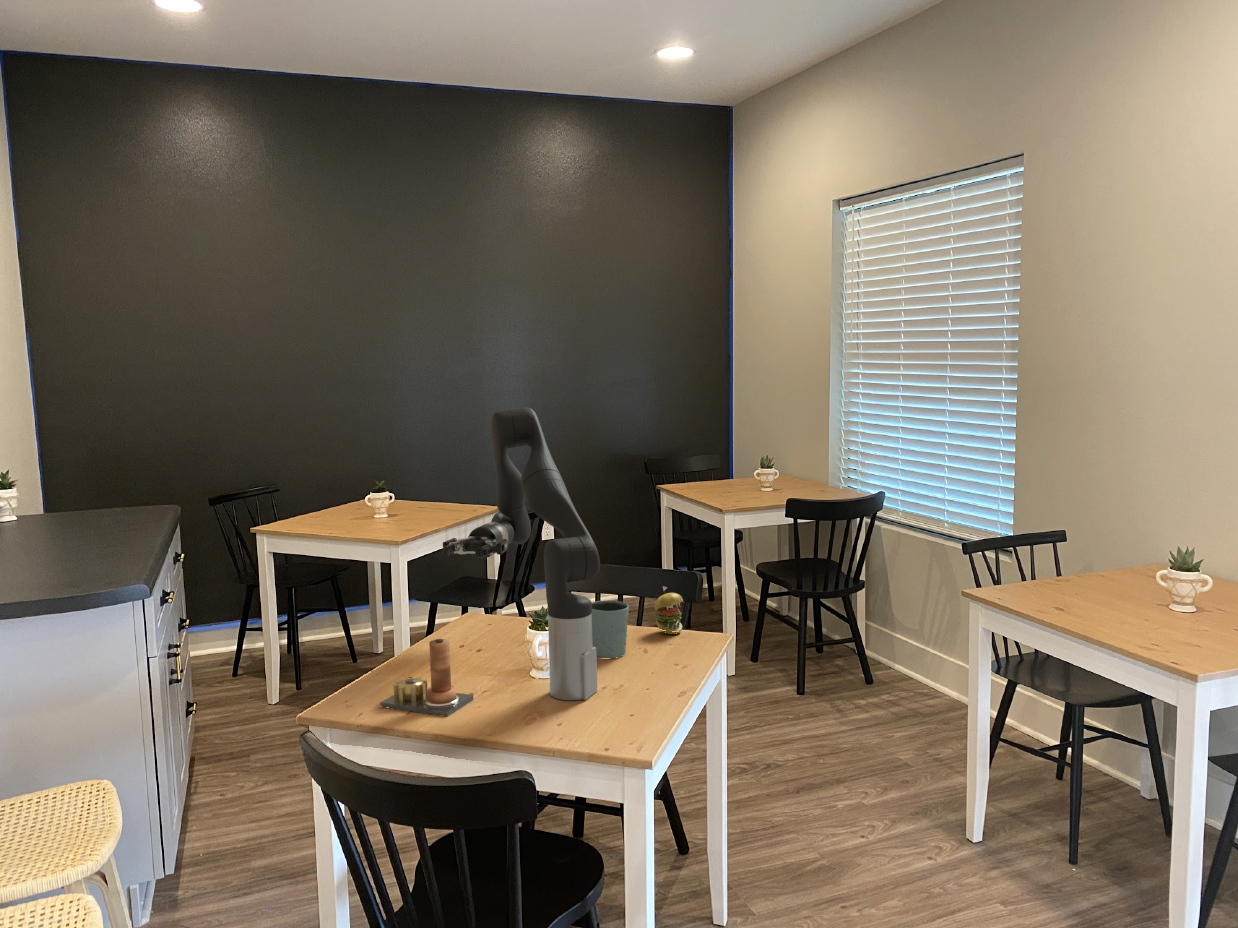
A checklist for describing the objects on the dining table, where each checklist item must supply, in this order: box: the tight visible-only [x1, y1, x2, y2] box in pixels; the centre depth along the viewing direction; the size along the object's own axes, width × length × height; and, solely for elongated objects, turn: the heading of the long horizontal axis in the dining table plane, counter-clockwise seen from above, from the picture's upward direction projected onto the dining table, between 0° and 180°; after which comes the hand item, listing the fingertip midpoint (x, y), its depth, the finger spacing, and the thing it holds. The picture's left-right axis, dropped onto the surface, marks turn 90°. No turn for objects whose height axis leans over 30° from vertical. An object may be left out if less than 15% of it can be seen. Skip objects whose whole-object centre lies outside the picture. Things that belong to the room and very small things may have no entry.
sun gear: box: [392, 676, 428, 702], centre depth 190 cm, size 7×7×3 cm
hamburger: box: [654, 585, 684, 635], centre depth 237 cm, size 8×7×12 cm
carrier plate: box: [379, 692, 474, 717], centre depth 188 cm, size 16×10×1 cm, turn 69°
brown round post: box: [426, 638, 457, 704], centre depth 186 cm, size 6×6×12 cm
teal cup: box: [591, 600, 630, 659], centre depth 219 cm, size 10×10×12 cm
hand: (464, 552), depth 204 cm, fingers open, 8 cm apart
